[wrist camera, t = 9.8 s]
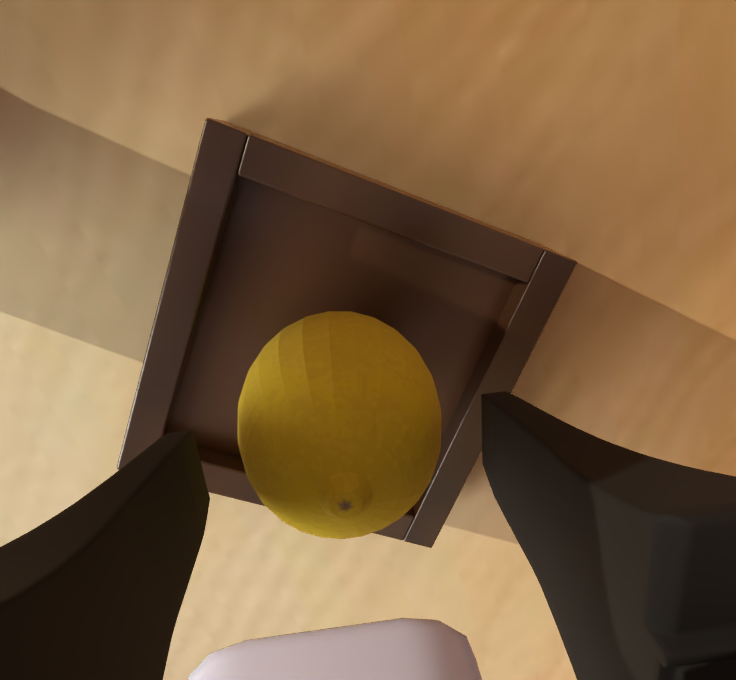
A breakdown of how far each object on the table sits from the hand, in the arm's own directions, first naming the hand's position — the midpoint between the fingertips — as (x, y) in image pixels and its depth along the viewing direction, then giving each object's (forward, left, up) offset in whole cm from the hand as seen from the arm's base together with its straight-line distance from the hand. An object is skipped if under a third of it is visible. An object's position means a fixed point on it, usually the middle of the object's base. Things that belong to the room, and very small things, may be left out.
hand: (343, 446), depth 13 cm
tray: (0, 0, -8) cm, 8 cm away
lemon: (0, 0, -6) cm, 6 cm away
